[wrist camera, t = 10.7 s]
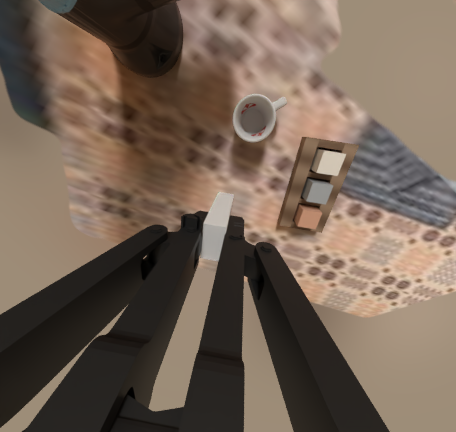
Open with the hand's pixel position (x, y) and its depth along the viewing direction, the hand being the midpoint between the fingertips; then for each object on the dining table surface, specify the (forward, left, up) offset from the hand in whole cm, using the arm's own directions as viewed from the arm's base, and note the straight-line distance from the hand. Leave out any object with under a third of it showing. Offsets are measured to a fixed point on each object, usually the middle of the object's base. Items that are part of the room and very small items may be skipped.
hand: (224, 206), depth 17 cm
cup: (-10, +3, -30) cm, 31 cm away
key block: (+3, +19, -29) cm, 35 cm away
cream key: (-3, +19, -28) cm, 34 cm away
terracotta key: (+10, +19, -28) cm, 35 cm away
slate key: (+3, +19, -28) cm, 34 cm away
